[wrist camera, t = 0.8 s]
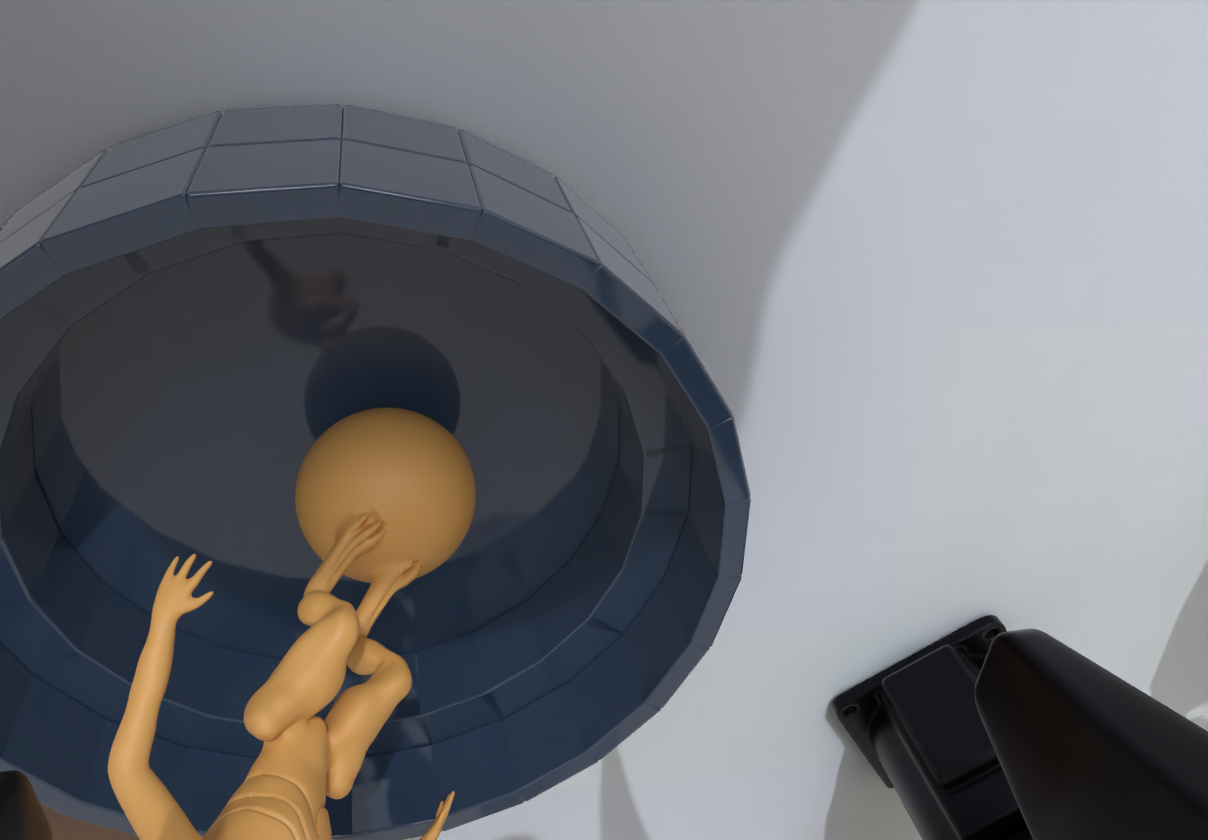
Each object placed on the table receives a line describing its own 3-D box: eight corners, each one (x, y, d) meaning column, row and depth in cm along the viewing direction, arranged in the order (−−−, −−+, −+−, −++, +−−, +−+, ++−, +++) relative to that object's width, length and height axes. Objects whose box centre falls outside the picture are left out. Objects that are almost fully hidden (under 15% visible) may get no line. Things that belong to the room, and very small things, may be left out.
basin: (781, 494, 27) (857, 618, 23) (301, 773, 29) (292, 933, 25) (430, -83, 17) (452, -47, 13) (-260, 403, 19) (-428, 566, 15)
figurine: (533, 518, 25) (645, 981, 15) (339, 616, 25) (325, 1129, 15) (361, 271, 20) (363, 717, 10) (125, 397, 20) (-92, 941, 11)
